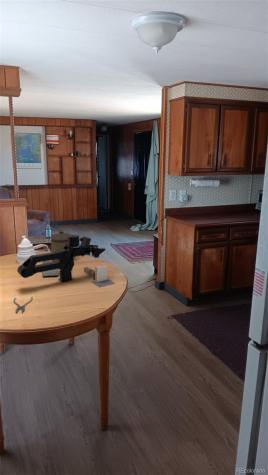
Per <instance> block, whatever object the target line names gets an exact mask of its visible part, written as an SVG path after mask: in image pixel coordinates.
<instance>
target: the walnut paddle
mask: <svg viewBox="0 0 268 475" xmlns="http://www.w3.org/2000/svg"><path fill="white" fill-rule="evenodd" d="M83 272H84V274H87V275H88V276H90V277H91V278H92V279H93V280H92V281H95V269H92V268H91V267H88V266H85V267H83Z"/></svg>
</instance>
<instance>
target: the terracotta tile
mask: <svg viewBox="0 0 268 475" xmlns="http://www.w3.org/2000/svg"><path fill="white" fill-rule="evenodd" d="M94 271H95V280H94V281H96V282H100V281H105V280H107V279H108V265H106V264H103V265H98V266H94Z"/></svg>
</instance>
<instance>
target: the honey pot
mask: <svg viewBox="0 0 268 475" xmlns="http://www.w3.org/2000/svg"><path fill="white" fill-rule="evenodd" d="M26 237H27V236H26V235H22V236H21V238H22V240H21V242H20V243H19V244H18V245H17V247H18V250H17V254H16V259H17V264H20V265H22V264H23V263H24V262H25V261H26V260H27V259H28V258H29V257H30V256H31V255H37V253H36V251H35V249H34V247H33V243H31V241H30V240H29V239H28V238H26Z"/></svg>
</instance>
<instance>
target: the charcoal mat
mask: <svg viewBox="0 0 268 475" xmlns="http://www.w3.org/2000/svg"><path fill="white" fill-rule="evenodd" d="M90 283H91V284H93V285H95V286H96V287H98V288H103V287H107V286H112V285H115V284H116V283H115V282H114V281H112V280H111V279H108V278H107V280H105V281H100V282H96V281H95V280H92V281H90Z"/></svg>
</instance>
